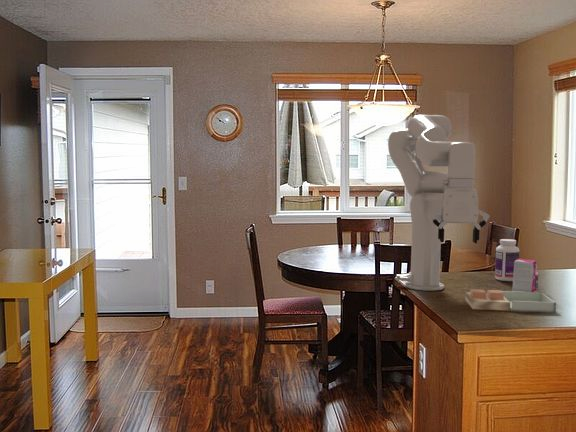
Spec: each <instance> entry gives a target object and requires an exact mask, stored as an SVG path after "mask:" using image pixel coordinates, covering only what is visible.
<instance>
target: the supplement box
mask: <svg viewBox="0 0 576 432" xmlns="http://www.w3.org/2000/svg"><path fill="white" fill-rule="evenodd" d="M536 265H537V260H531V259H525V258H524V259H523V258H519V259H517V260H515V261H514V274H513V281H512V287H511V288H512V289H511V291H518V292H534V285H535V272H536V271H537V270H536Z"/></svg>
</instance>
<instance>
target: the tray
mask: <svg viewBox="0 0 576 432" xmlns="http://www.w3.org/2000/svg"><path fill="white" fill-rule="evenodd" d="M501 291H502V292H503V293H504V297H505V298H506V299H507V300H508V301H509V302H510V311H511V312H515V313H517V312H518V313H546V314H556V310H557V302H556V301H554V299H551V298H550V297H549V296H548V295H546V294H545V293H543V292H540V291H538V292H518V291H512V290H510V291H509V290H501Z"/></svg>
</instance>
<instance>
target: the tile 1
mask: <svg viewBox="0 0 576 432" xmlns="http://www.w3.org/2000/svg"><path fill="white" fill-rule="evenodd" d="M469 292H470V296H471V297H472V298H486V293H487V291H486V290H484V289H475V288H473V289H472V288H470V289H469Z"/></svg>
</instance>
